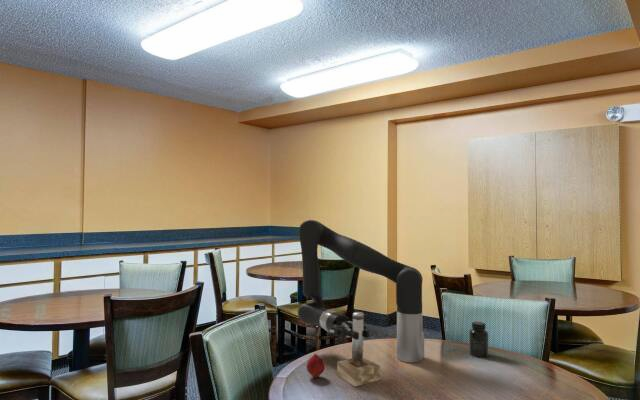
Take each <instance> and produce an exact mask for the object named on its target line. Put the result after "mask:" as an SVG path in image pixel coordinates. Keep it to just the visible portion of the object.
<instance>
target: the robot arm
mask: <svg viewBox="0 0 640 400" xmlns="http://www.w3.org/2000/svg"><path fill="white" fill-rule="evenodd" d="M298 236H299V241H300V247H301V248H300V249H301V257H302V259H301V261H302V262H301V263H302V294H303V296H304V297H307V298H311V299H312V302H308V303H303V304H301V305H300V306H299V307H298V309H297V315H298V318H299V320H300V321H302V323H305V324H308V325H312V326H318V327H320V328H321V329H324V331H326V332H328V333H329V335H332V336H334V337H335V336H336V337H338V338H353V339H356V340H358V339H359V333H358V332H356V331H353V321H351V320H350V319H349V317H348V316H347V315H345V314H343V313H340V312H339V311H336V310H331V309H330V308H325V305H324V300H323V297H322V292H321V270H320V265H319V257H318V248H319V247H318V246H320V247H323V248H325V249H327V250H330V251H331V252H333V253H334V254H335V255H337V256H338V257H339V258H341V259H342V260H343V261H345V262H347V263H348V264H350V265H352V266H354V267H356V268H358V269H359V270H363V271H365V272H368V273H371V274H375V275H378V276H379V275H380V276H382V277H384V278H386V279H388V280H390V281H391V282H393V283H394V284H395V298H396V299H395V305H396V359H397V360H399V361H401V362H404V363H419V362H422V361H423V359H425V332H424V331H423V275H422V273H421V271H419V270H418V269H417V268H415V267H413V266H410V265H407V264H404V263H401V262H399V261H396V260H394V259H392V258H390V257H388V256H386V254H385V255H384V254H382V252H380V251H378V250H376V249H374V248H372V247H371V246H368V245H367V244H365V243H362V242H360V241H359V240H356V239H353V238H351V237H348V236H345V235H344V234H343V235H342V234H339V233H337V232H336V231H334V230H332V229H331V228H330V227H328V226H326V225H324V224H323V223H321V222H320V221H318V220H314V219H306V220H304V221H303V222H302V223H300V224H299V228H298ZM367 328H368V327H367V325H366V324H365V323H364V333H363V338H365V339H368V338H370V331H369V330H367Z"/></svg>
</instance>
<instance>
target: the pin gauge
mask: <svg viewBox="0 0 640 400" xmlns="http://www.w3.org/2000/svg"><path fill="white" fill-rule="evenodd" d="M351 316H352V322H353V331H356V332H358V333H359V339H358V340H356V339H353V338H352V339H351V340H352V341H351V342H352V343H351V347H352V349H351V359H352V360H353V361H363V357H364V337H363V333H364V324H365V322H364V319H365V313H364V312H361V311H354V312H352V315H351Z"/></svg>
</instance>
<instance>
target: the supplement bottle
mask: <svg viewBox="0 0 640 400" xmlns="http://www.w3.org/2000/svg"><path fill="white" fill-rule="evenodd" d="M486 328H487V327H486V323H485V322H482V321H472V322H471V328H470V330H469V332H468V338H469V339H468V341H469V342H468V346H469V347H468V349H469V350H468V353H469V355H470V356H472V357H474V356H475V357H474V358H480V357H484V358H487V357H489V332H488V331H487V330H486Z"/></svg>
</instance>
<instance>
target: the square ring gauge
mask: <svg viewBox="0 0 640 400" xmlns="http://www.w3.org/2000/svg"><path fill="white" fill-rule="evenodd" d="M336 375H337V376H338V377H339V378H341V379H342V380H344V381H345V382H347V383H348V384H350V385H352V386H354V387H357V386H362V385H365V384H370V383H373V382H374V383H375V382H377V381H381V365H380V364H377V363H376V362H373V361H371V360H369V359H367V358H366V357H364V356H363V361H353V360H352V358H348V359H345V360H340V361H339V360H338V361H337V362H336Z"/></svg>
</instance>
